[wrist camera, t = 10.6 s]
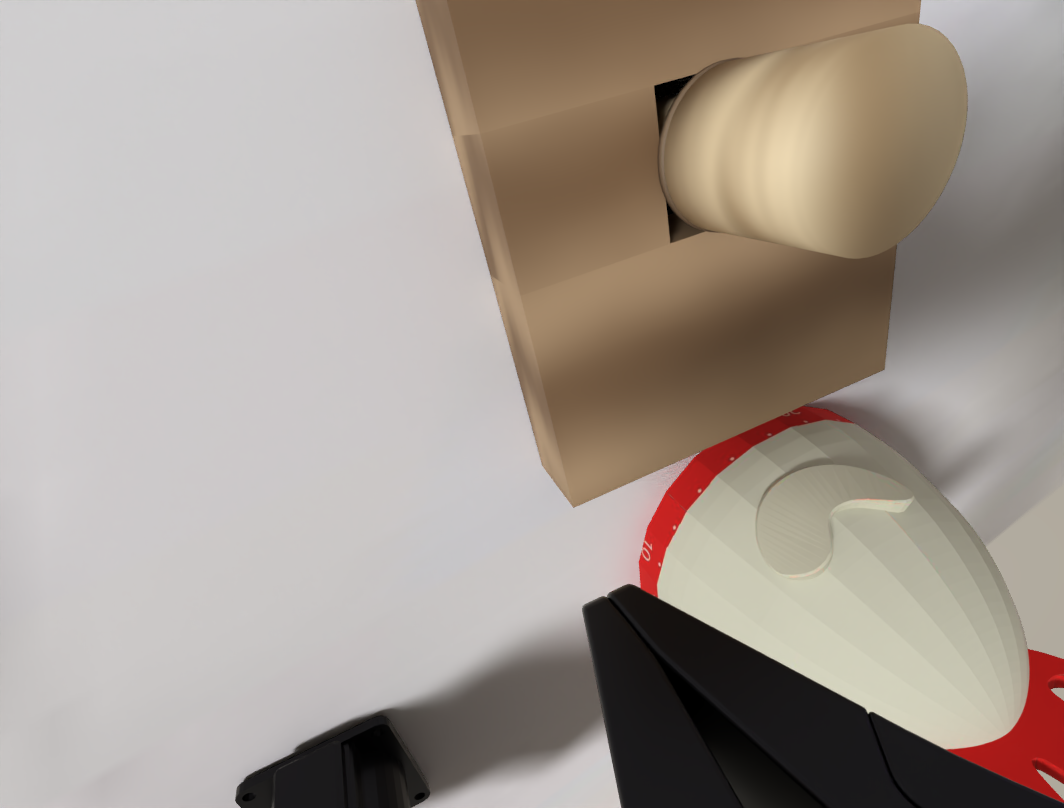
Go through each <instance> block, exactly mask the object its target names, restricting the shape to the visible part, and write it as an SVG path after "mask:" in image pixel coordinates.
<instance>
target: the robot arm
mask: <svg viewBox="0 0 1064 808" xmlns="http://www.w3.org/2000/svg"><path fill="white" fill-rule="evenodd" d="M582 612H583V617H584V622H585V627H586V632H587V637H588V642H589V647H590V652H591V657H592V662H593V667H594V672H595V677H596V682H597V687H598V692H599V698H600V703H601V708H602V713H603V718H604V723H605V728H606V733H607V738H608V743H609V748H610V753H611V758H612V763H613V768H614V773H615V778H616V783H617V788H618V793H619V798H620V803H621V808H1064V803H1063V802H1060V801H1058V800H1056V799H1054V798H1051V797H1049V796H1047V795H1044V794H1042V793H1040V792H1038V791H1035V790H1033V789H1031V788H1028V787H1026V786H1024V785H1021V784H1019V783H1017V782H1015V781H1012V780H1010V779H1008V778H1006V777H1004V776H1001V775H999V774H997V773H995V772H993V771H990V770H988V769H986V768H984V767H982V766H980V765H977V764H975V763H973V762H971V761H969V760H966V759H964V758H962V757H960V756H958V755H956V754H954V753H952V752H950V751H948V750H946V749H944V748H942V747H940V746H938V745H936V744H934V743H932V742H930V741H928V740H926V739H924V738H922V737H920V736H918V735H916V734H914V733H912V732H910V731H908V730H906V729H904V728H902V727H900V726H899V725H897V724H895V723H893V722H891V721H889V720H887V719H885V718H883V717H882V716H880V715H878V714H876V713H874V712H869V713H867V710H866V709H865V708H864V707H862V706H861V705H859V704H857V703H855V702H853V701H851V700H849V699H847V698H846V697H844V696H842V695H840V694H838V693H836V692H834V691H832V690H830V689H829V688H827V687H825V686H823V685H821V684H819V683H817V682H815V681H814V680H812V679H810V678H808V677H806V676H804V675H802V674H800V673H798V672H797V671H795V670H793V669H791V668H789V667H787V666H785V665H783V664H782V663H780V662H778V661H776V660H774V659H772V658H770V657H768V656H766V655H765V654H763V653H761V652H759V651H757V650H755V649H753V648H751V647H750V646H748V645H746V644H744V643H742V642H740V641H738V640H736V639H734V638H733V637H731V636H729V635H727V634H725V633H723V632H721V631H719V630H718V629H716V628H714V627H712V626H710V625H708V624H706V623H704V622H702V621H701V620H699V619H697V618H695V617H693V616H691V615H689V614H687V613H686V612H684V611H682V610H680V609H678V608H676V607H674V606H672V605H670V604H669V603H667V602H665V601H663V600H661V599H659V598H657V597H655V596H654V595H652V594H650V593H648V592H646V591H644V590H642V589H640V588H638V587H637V586H635V585H632V584H627V585H624V586H622V587H620V588H618V589H616V590H614V591H612V592H610V593H609V594H608V595H607V597H604V596H602V597H599V598H597V599H595V600H593V601H591V602H589V603H587V604H585V605H584V606H583V608H582ZM429 795H430V790H429V785H428V782H427V780H426V779H425V777H424V775H423V774H422V772H421V771H420V769H419V767H418V766H417V764H416V763H415V761H414V759H413V758H412V756H411V754H410V753H409V751H408V750H407V748H406V746H405V745H404V743H403V742H402V740H401V738H400V737H399V735H398V734H397V732H396V730H395V729H394V727H393V725H392V724H391V722H390V721H389V719H388V718H387V717H384V716H377V717H375V718H372V719H370V720H368V721H366V722H364V723H362V724H360V725H358V726H356V727H354V728H352V729H350V730H348V731H346V732H344V733H342V734H340V735H338V736H336V737H333V738H331V739H329V740H327V741H325V742H323V743H321V744H319V745H317V746H315V747H313V748H311V749H309V750H307V751H305V752H303V753H301V754H299V755H297V756H295V757H293V758H291V759H289V760H287V761H285V762H283V763H281V764H278V765H276V766H274V767H272V768H270V769H268V770H266V771H264V772H262V773H260V774H258V775H256V776H254V777H252V778H250V779H248V780H246V781H244V782H242V783H241V784H240V785H239V786H238V787H237V790H236V799H235V801H236V803H237V804H238V805H239V806H240V807H241V808H412V807H413V806H415V805H417V804H419V803H421V802H423V801H424V800H426V799H427V798H428V797H429Z"/></svg>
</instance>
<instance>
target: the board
mask: <svg viewBox="0 0 1064 808" xmlns="http://www.w3.org/2000/svg"><path fill="white" fill-rule="evenodd" d="M416 4H417V7H418V11H419V15H420V18H421V22H422V26H423V29H424V33H425V37H426V40H427V44H428V48H429V51H430V55H431V59H432V62H433V66H434V70H435V73H436V77H437V81H438V84H439V88H440V92H441V95H442V99H443V103H444V106H445V110H446V114H447V117H448V121H449V125H450V128H451V132H452V136H453V139H454V143H455V147H456V150H457V154H458V158H459V161H460V165H461V169H462V172H463V176H464V180H465V183H466V187H467V191H468V194H469V198H470V202H471V205H472V209H473V213H474V216H475V220H476V224H477V227H478V231H479V235H480V238H481V242H482V246H483V249H484V253H485V257H486V260H487V264H488V268H489V271H490V275H491V279H492V282H493V286H494V290H495V293H496V297H497V301H498V304H499V308H500V312H501V315H502V319H503V323H504V326H505V330H506V334H507V337H508V341H509V345H510V348H511V352H512V356H513V359H514V363H515V367H516V370H517V374H518V378H519V381H520V385H521V389H522V392H523V396H524V400H525V403H526V407H527V411H528V414H529V418H530V422H531V425H532V429H533V433H534V436H535V440H536V444H537V447H538V451H539V455H540V458H541V462H542V466H543V467H544V468H545V470H546V471H547V473H548V474H549V475H550V477H551V478H552V479H553V481H554V482H555V483H556V485H557V486H558V487H559V489H560V490H561V492H562V493H563V494H564V496H565V497H566V498H567V500H568V501H569V502H570V504H571V505H572V506H573V508H574V507H576V506H579V505H581V504H583V503H585V502H588V501H590V500H592V499H594V498H597V497H599V496H601V495H603V494H606V493H608V492H610V491H612V490H615V489H617V488H619V487H621V486H624V485H626V484H628V483H630V482H633V481H635V480H637V479H639V478H642V477H644V476H646V475H648V474H651V473H653V472H655V471H657V470H660V469H662V468H664V467H666V466H669V465H671V464H673V463H675V462H678V461H680V460H682V459H684V458H687V457H689V456H691V455H693V454H696V453H698V452H700V451H702V450H705V449H707V448H709V447H711V446H714V445H716V444H718V443H720V442H723V441H725V440H727V439H729V438H732V437H734V436H736V435H738V434H741V433H743V432H745V431H747V430H750V429H752V428H754V427H756V426H759V425H761V424H763V423H765V422H768V421H770V420H772V419H774V418H777V417H779V416H781V415H783V414H786V413H788V412H790V411H792V410H795V409H797V408H799V407H801V406H804V405H806V404H808V403H810V402H813V401H815V400H817V399H819V398H822V397H824V396H826V395H828V394H831V393H833V392H835V391H837V390H840V389H842V388H844V387H846V386H849V385H851V384H853V383H855V382H858V381H860V380H862V379H864V378H867V377H869V376H871V375H873V374H876V373H878V372H880V371H882V370H885V359H886V349H887V339H888V329H889V319H890V309H891V299H892V289H893V279H894V269H895V259H896V249H897V244H896V245H895V246H893V247H891V248H890V249H888V250H886V251H884V252H882V253H880V254H877V255H874V256H871V257H867V258H860V259H852V258H845V257H840V256H835V255H830V254H825V253H820V252H815V251H810V250H805V249H800V248H795V247H790V246H785V245H780V244H775V243H770V242H765V241H760V240H755V239H750V238H745V237H741V236H736V235H731V234H726V233H721V232H719V233H716V232H707V231H702V230H698V229H695V228H693V227H691V226H689V225H687V224H686V223H684V222H683V221H682V220H681V219H679V218H678V217H677V216H676V214H675V213H674V214H671V215H668V216H667V206H666V199H665V197H664V194H663V192H662V188H661V185H660V180H659V174H658V161H657V159H658V146H659V129H658V119H657V110H656V100H655V90H654V85H658V84H661V83H665V82H669V81H672V80H676V79H679V78H683V77H687V76H690V75H694V74H697V73H698V72H699V71H701V70H702V69H704V68H705V67H707V66H709V65H711V64H713V63H716V62H719V61H721V60H726V59H731V58H746V57H751V56H755V55H760V54H765V53H770V52H774V51H779V50H784V49H789V48H793V47H798V46H803V45H808V44H812V43H817V42H822V41H827V40H832V39H836V38H841V37H846V36H851V35H855V34H860V33H865V32H870V31H874V30H879V29H884V28H889V27H893V26H898V25H904V24H919V17H920V6H921V0H416Z"/></svg>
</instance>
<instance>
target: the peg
mask: <svg viewBox="0 0 1064 808" xmlns="http://www.w3.org/2000/svg"><path fill="white" fill-rule="evenodd" d="M967 96H968V95H967V84H966V78H965V73H964V68H963V66H962V63H961V60H960V57H959V55H958V53H957V51H956V49H955V48H954V46H953V45H952V44H951V42H950V41H949V40H948V38H946V37H945V36H944V35H943V34H942V33H941V32H939V31H938V30H936V29H934V28H932V27H930V26H926V25H922V24H904V25H898V26H893V27H889V28H884V29H879V30H874V31H870V32H865V33H860V34H855V35H851V36H846V37H841V38H836V39H832V40H827V41H822V42H817V43H812V44H808V45H803V46H798V47H793V48H789V49H784V50H779V51H774V52H770V53H765V54H760V55H755V56H751V57H746V58H731V59H726V60H721V61H719V62H716V63H713V64H711V65H709V66H707V67H705V68H704V69H702V70H701V71H699V72H698V73H697V74H695V75H694V76H693V77H692V78H691V79H690V80H689V81H688V82H687V83H686V84H685V85H684V87H683V88H682V89H681V90H680V92H679V93H678V94H676V95H670V96H665V97H662V98H659V99H658V100H656V110H657V119H658V129H659V146H658V159H657V161H658V174H659V180H660V185H661V188H662V192H663V194H664V197H665V199H666V202H667V203H668V205H669V206H670V208H671V210H672V211H673V212H674V213H675V214H676V216H677V217H678V218H679V219H681V220H682V221H683V222H684V223H686V224H687V225H689V226H691V227H693V228H695V229H698V230H702V231H707V232H716V233H719V232H721V233H726V234H731V235H736V236H741V237H745V238H750V239H755V240H760V241H765V242H770V243H775V244H780V245H785V246H790V247H795V248H800V249H805V250H810V251H815V252H820V253H825V254H830V255H835V256H840V257H845V258H852V259H860V258H867V257H871V256H874V255H877V254H880V253H882V252H884V251H886V250H888V249H890V248H891V247H893V246H895V245H896V244H898V243H899V242H900V241H902V240H903V239H904V238H905V237H907V236H908V235H909V234H910V233H911V232H912V231H913V230H914V229H915V228H916V227H917V226H918V225H919V224H920V223H921V221H922V220H923V219H924V218H925V217H926V216H927V214H928V213H929V212H930V210H931V209H932V207H933V206H934V205H935V203H936V201H937V200H938V198H939V197H940V195H941V193H942V192H943V190H944V188H945V186H946V184H947V182H948V180H949V178H950V176H951V173H952V171H953V169H954V166H955V163H956V161H957V158H958V155H959V152H960V148H961V144H962V141H963V136H964V131H965V126H966V118H967Z"/></svg>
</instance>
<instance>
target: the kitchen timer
mask: <svg viewBox="0 0 1064 808" xmlns="http://www.w3.org/2000/svg"><path fill="white" fill-rule="evenodd" d="M639 569H640V583H641V589H642V590H644V591H646V592H648V593H650V594H652V595H654V596H655V597H657V598H659V599H661V600H663V601H665V602H667V603H669V604H670V605H672V606H674V607H676V608H678V609H680V610H682V611H684V612H686V613H687V614H689V615H691V616H693V617H695V618H697V619H699V620H701V621H702V622H704V623H706V624H708V625H710V626H712V627H714V628H716V629H718V630H719V631H721V632H723V633H725V634H727V635H729V636H731V637H733V638H734V639H736V640H738V641H740V642H742V643H744V644H746V645H748V646H750V647H751V648H753V649H755V650H757V651H759V652H761V653H763V654H765V655H766V656H768V657H770V658H772V659H774V660H776V661H778V662H780V663H782V664H783V665H785V666H787V667H789V668H791V669H793V670H795V671H797V672H798V673H800V674H802V675H804V676H806V677H808V678H810V679H812V680H814V681H815V682H817V683H819V684H821V685H823V686H825V687H827V688H829V689H830V690H832V691H834V692H836V693H838V694H840V695H842V696H844V697H846V698H847V699H849V700H851V701H853V702H855V703H857V704H859V705H861V706H862V707H864V708H865V709H866V710H867V713H869V712H874V713H876V714H878V715H880V716H882V717H883V718H885V719H887V720H889V721H891V722H893V723H895V724H897V725H899V726H900V727H902V728H904V729H906V730H908V731H910V732H912V733H914V734H916V735H918V736H920V737H922V738H924V739H926V740H928V741H930V742H932V743H934V744H936V745H938V746H940V747H942V748H944V749H946V750H948V751H950V752H952V753H954V754H956V755H958V756H960V757H962V758H964V759H966V760H969V761H971V762H973V763H975V764H977V765H980V766H982V767H984V768H986V769H988V770H990V771H993V772H995V773H997V774H999V775H1001V776H1004V777H1006V778H1008V779H1010V780H1012V781H1015V782H1017V783H1019V784H1021V785H1024V786H1026V787H1028V788H1031V789H1033V790H1035V791H1038V792H1040V793H1042V794H1044V795H1047V796H1049V797H1051V798H1054V799H1056V800H1058V801H1060V802H1063V803H1064V800H1063V799H1062V798H1061V797H1060V796H1059V795H1058V794H1057V793H1056V792H1055V791H1054V790H1053V788H1051V786H1050V785H1049V784H1048V783H1047V782H1046V781H1045V780H1044V779H1043V777H1042V776H1041V775H1040V774H1039V773H1038V771H1037V770H1041V771H1043V772H1045V773H1046V774H1048V775H1050V776H1052V777H1053V778H1055V779H1056V780H1058V781H1060V782H1061V783H1063V784H1064V701H1063V700H1062V699H1061V698H1059V697H1058V696H1056V695H1055V694H1054V693H1053V692H1052V691H1051V689H1053V688H1064V659H1061V658H1058V657H1055V656H1052V655H1049V654H1045V653H1042V652H1038V651H1034V650H1030V649H1028V648H1027V642H1026V638H1025V634H1024V630H1023V627H1022V624H1021V620H1020V617H1019V615H1018V612H1017V609H1016V607H1015V605H1014V602H1013V600H1012V597H1011V595H1010V593H1009V590H1008V588H1007V586H1006V584H1005V582H1004V579H1003V577H1002V575H1001V573H1000V571H999V569H998V568H997V566H996V564H995V562H994V560H993V559H992V557H991V556H990V554H989V552H988V550H987V549H986V547H985V545H984V544H983V542H982V541H981V540H980V538H979V537H978V535H977V534H976V532H975V531H974V530H973V528H972V527H971V526H970V524H969V523H968V522H967V521H966V519H965V518H964V517H963V516H962V515H961V514H960V512H959V511H958V510H957V509H956V508H955V507H954V506H953V505H952V504H951V503H950V502H949V501H948V500H947V499H946V498H945V497H944V496H943V495H942V494H941V493H940V492H939V491H938V490H937V489H936V488H935V487H934V486H933V485H932V484H931V483H930V482H929V481H928V480H927V479H926V478H925V477H924V476H923V475H922V474H921V473H920V472H919V471H918V470H917V469H916V468H915V467H914V466H913V465H912V464H911V463H909V462H908V461H907V460H906V459H905V458H904V457H903V456H902V455H900V454H899V453H898V452H896V451H895V450H894V449H892V448H891V447H890V446H888V445H887V444H885V443H884V442H882V441H881V440H879V439H878V438H876V437H875V436H873V435H872V434H871V433H869V432H868V431H866V430H864V429H863V428H861V427H860V426H858V425H857V424H855V423H853V422H851V421H849V420H847V419H845V418H843V417H841V416H839V415H837V414H835V413H833V412H831V411H829V410H827V409H820V408H813V407H807V406H801V407H799V408H797V409H795V410H792V411H790V412H788V413H786V414H783V415H781V416H779V417H777V418H774V419H772V420H770V421H768V422H765V423H763V424H761V425H759V426H756V427H754V428H752V429H750V430H747V431H745V432H743V433H741V434H738V435H736V436H734V437H732V438H729V439H727V440H725V441H723V442H720V443H718V444H716V445H714V446H711V447H709V448H707V449H705V450H703V451H702V452H701V453H699V454H698V455H697V456H696V457H694V458H693V460H692V461H691V462H690V463H689V465H688V466H687V467H686V468H685V469H684V471H683V472H682V473H681V474H680V475H679V477H678V478H677V479H676V480H675V481H674V483H673V484H672V485H671V486H670V488H669V489H668V490H667V491H666V493H665V495H664V497H663V499H662V501H661V503H660V504H659V506H658V508H657V510H656V512H655V514H654V516H653V518H652V520H651V522H650V524H649V525H648V527H647V531H646V535H645V539H644V544H643V548H642V552H641V556H640V560H639ZM1036 769H1037V770H1036Z"/></svg>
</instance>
